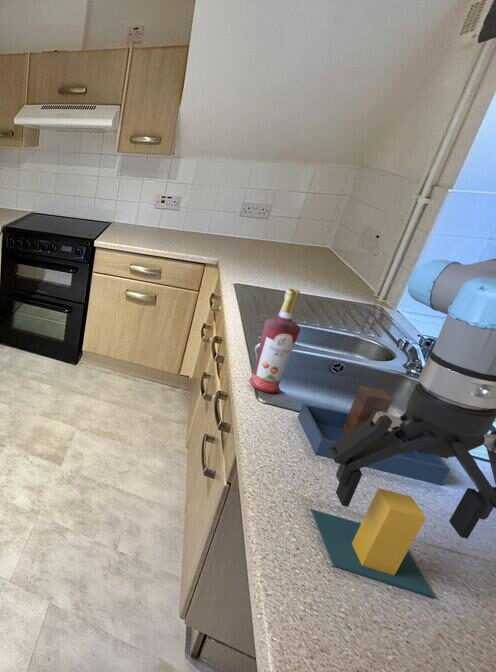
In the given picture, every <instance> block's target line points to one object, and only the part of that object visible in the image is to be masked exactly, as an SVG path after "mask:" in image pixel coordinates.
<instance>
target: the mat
mask: <svg viewBox="0 0 496 672" xmlns="http://www.w3.org/2000/svg"><path fill="white" fill-rule="evenodd" d="M310 511H311V514H312V517H313V520H314V522H315V524H316V527H317V529H318V531H319V534H320V537H321V539H322V541H323V545H324V547H325V549H326V552H327V554H328V556H329V557H328V558H329V560H330V562H331V564H332V567H334V568H337V569H339V570H342V571H345V572H348V573H352V574H355V575H358V576H362V577H365V578H368V579H372V580H374V581H377V582H381V583H383V584H387V585H390V586H394V587H396V588H399V589H402V590H406V591H409V592H412V593H415V594H418V595H421V596H424V597H427V598H431V599H434V598H435V595H434V593H433V591H432V590H431V587H430V586H429V584H428V583H427V581H426V579H425V578H424V576H423V574H422V573H421V571H420V569H419V568H418V566H417V564H416V562H415V561H414V559H413V558H412V556H411V554H410V552H409V551H408V552H407V553H406V555H405V557H404V559H403V561H402V563H401V564H400V566H399V568H398V570H397V572H396V573H395V575H391V574H388V573H384V572H381V571H378V570H375V569H371V568H368V567H365V566H362V565H361V563H360V560H359V558H358V556H357V554H356V552H355V550H354V547H353V545H352V542H353V540H354V538H355V536H356V533H357V531H358V529H359V527H360V525H361V523H362V522H357V521H354V520H351V519H347V518H345V517H340V516H336V515H333V514H329V513H326V512H323V511H320V510H315V509H312V508H310Z"/></svg>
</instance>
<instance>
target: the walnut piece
mask: <svg viewBox="0 0 496 672" xmlns="http://www.w3.org/2000/svg"><path fill="white" fill-rule="evenodd" d="M392 402H393V400H392V398H391V397H390V396H389V394H387V392H386V391H385V390H384V389H382V388H381V389H380V388H376V387H370V386H364V385H359V386H358V390H357V392H356V395H355V396H354V399H353V402H352V405H351V407H350V410H349V412H348V413H349V414H348V416H347V419H346V421H345V424H344V426H343V429H342V431H343V433H344V435H345V436H346V435H347V434H349V433H350V432H351V431H353V430H354V429H356V428H357V427H358V426H360V425H361V424H363V423H364V422H365V421H367V420H368V419H369V417H370V416H371V414H372V412H373V411H374V410H375V409H377V408H380V409H383V410H384V412H385V413H386V414H388V410H389V408H390V406H391V404H392Z"/></svg>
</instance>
